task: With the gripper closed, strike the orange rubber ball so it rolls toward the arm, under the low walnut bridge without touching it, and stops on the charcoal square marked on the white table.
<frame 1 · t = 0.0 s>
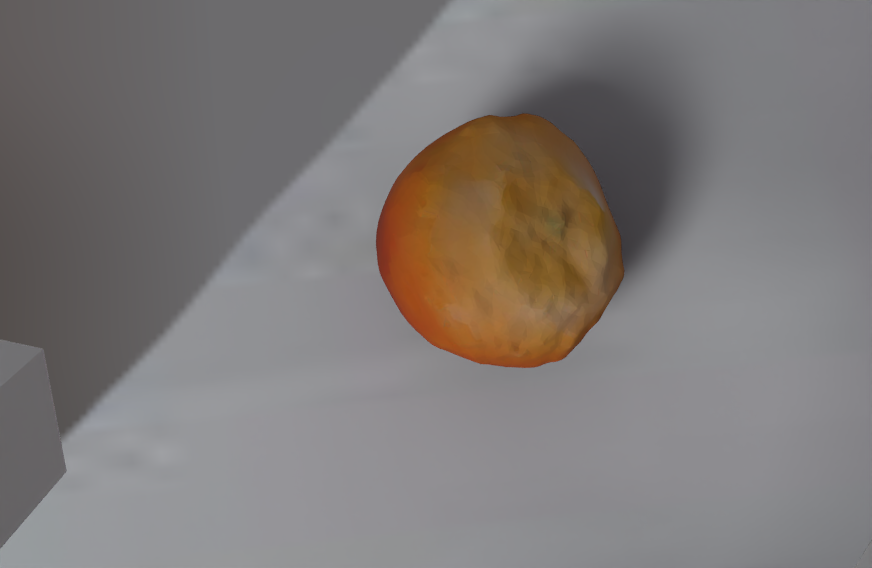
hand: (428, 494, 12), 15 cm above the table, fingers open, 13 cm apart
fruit: (498, 259, 28), on the table
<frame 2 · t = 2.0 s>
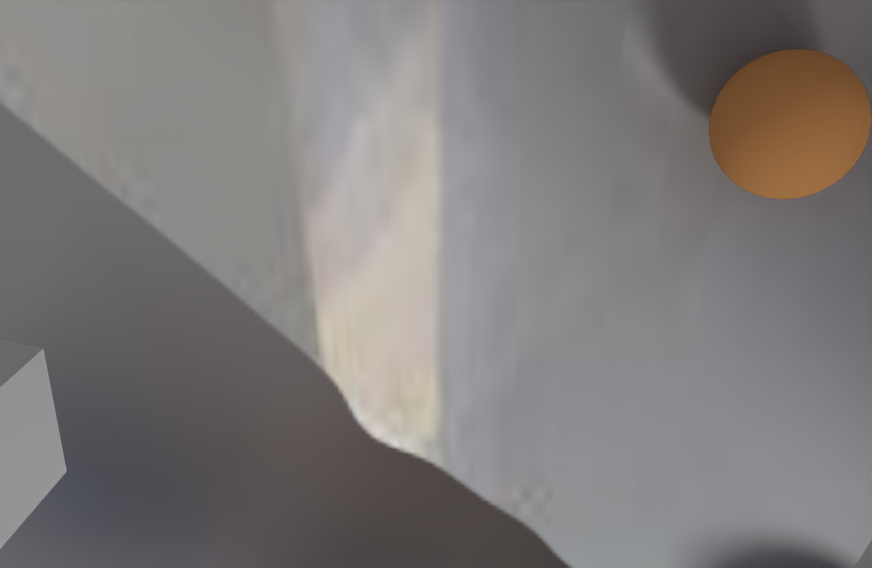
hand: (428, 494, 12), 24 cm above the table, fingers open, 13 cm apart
ball: (786, 125, 28), on the table
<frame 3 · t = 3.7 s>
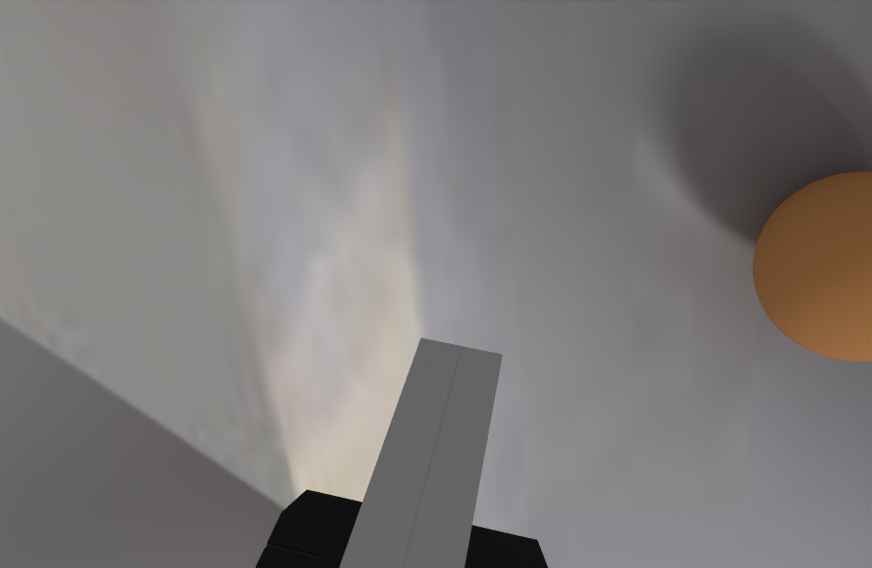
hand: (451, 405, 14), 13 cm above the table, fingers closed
ball: (855, 266, 22), on the table
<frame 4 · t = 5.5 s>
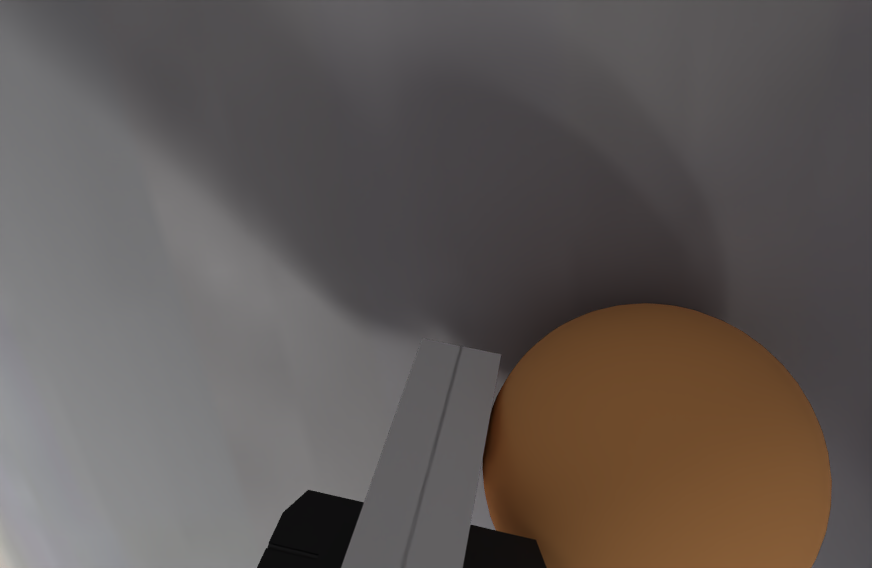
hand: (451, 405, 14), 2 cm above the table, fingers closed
ball: (646, 466, 12), on the table
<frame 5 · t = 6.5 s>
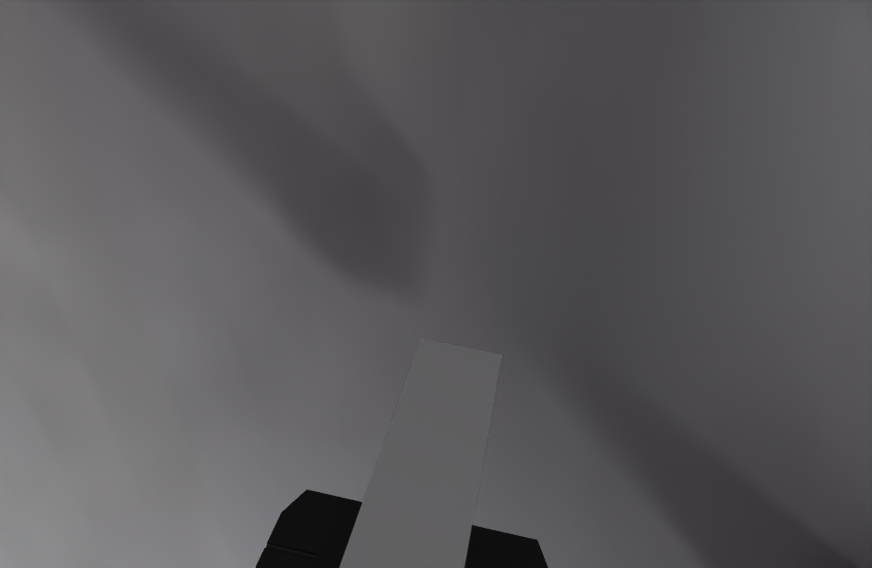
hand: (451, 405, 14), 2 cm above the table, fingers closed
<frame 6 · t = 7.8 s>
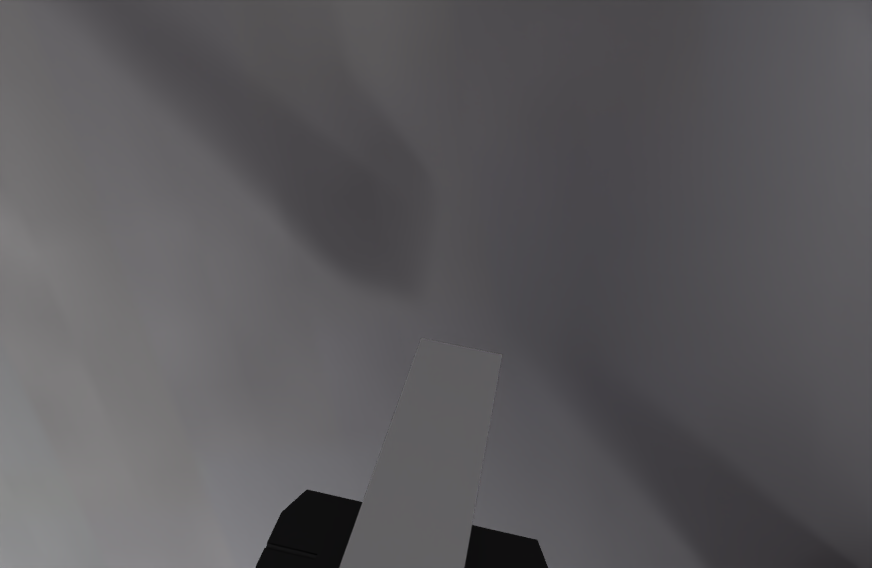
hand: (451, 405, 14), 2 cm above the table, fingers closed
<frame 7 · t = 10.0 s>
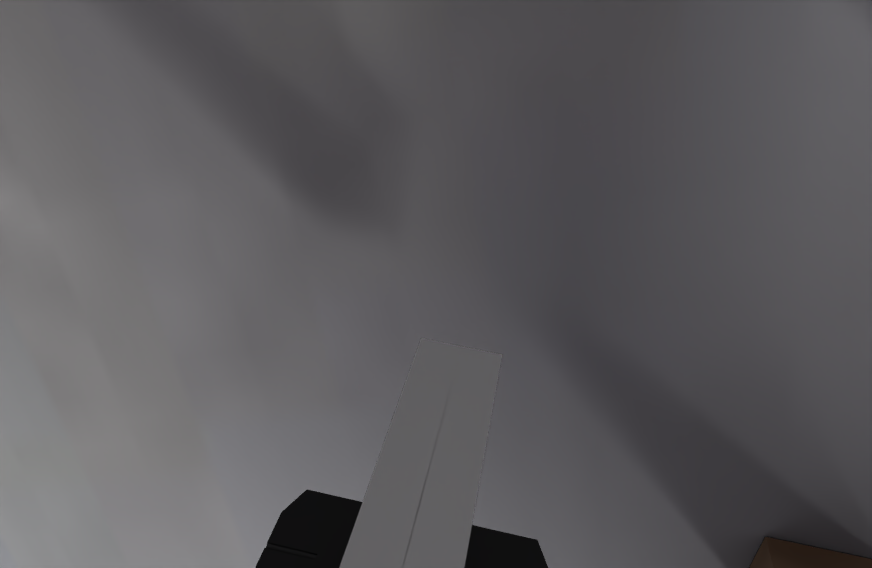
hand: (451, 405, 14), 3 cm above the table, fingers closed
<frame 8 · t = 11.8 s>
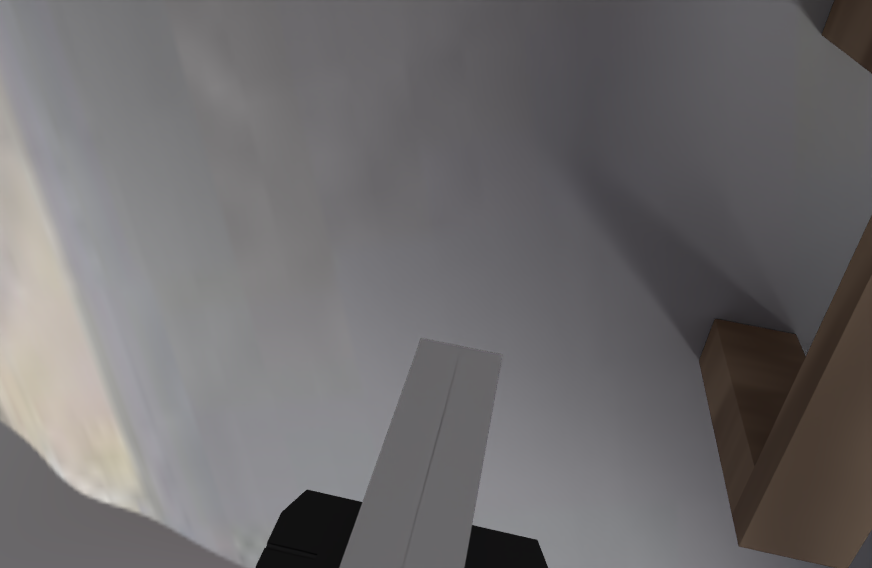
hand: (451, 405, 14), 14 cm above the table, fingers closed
bridge: (807, 199, 25), on the table
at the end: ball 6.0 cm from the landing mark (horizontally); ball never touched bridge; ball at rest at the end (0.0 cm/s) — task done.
